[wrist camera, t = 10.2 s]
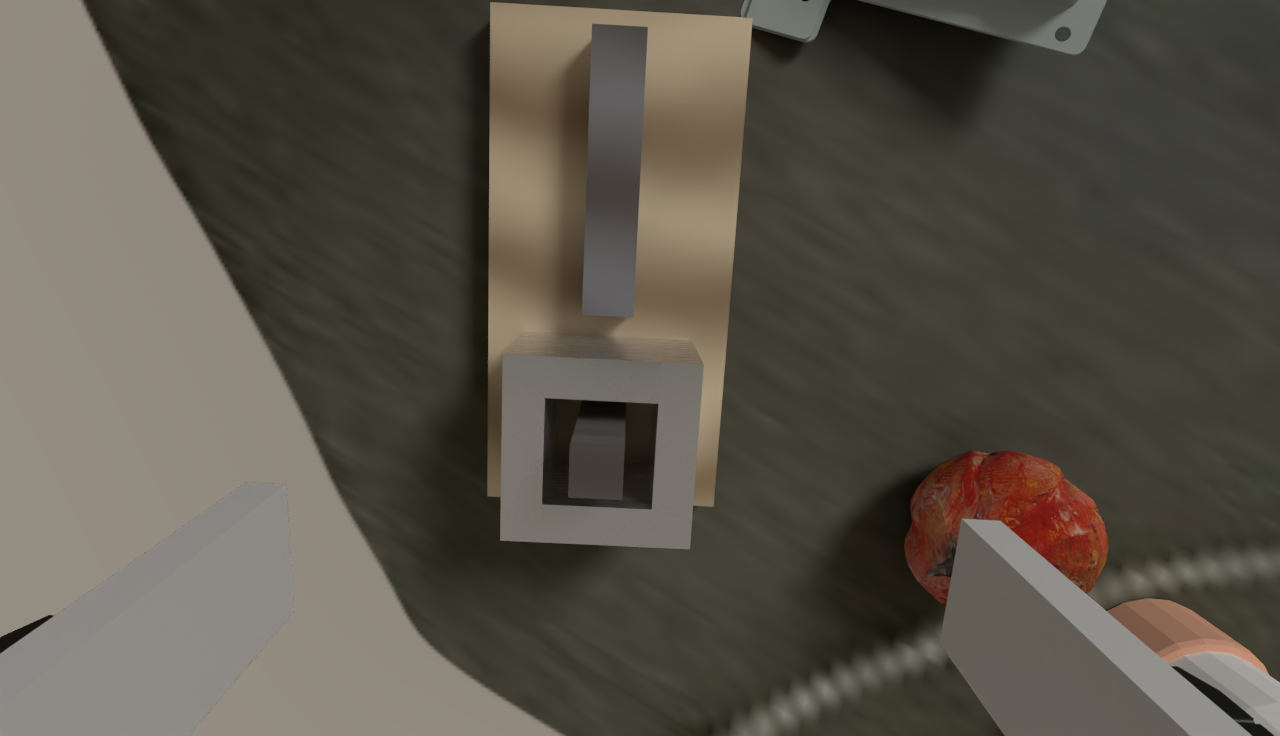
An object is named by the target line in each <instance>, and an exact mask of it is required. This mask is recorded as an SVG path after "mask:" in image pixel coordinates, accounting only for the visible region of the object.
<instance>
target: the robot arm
mask: <svg viewBox="0 0 1280 736" xmlns="http://www.w3.org/2000/svg"><path fill="white" fill-rule="evenodd" d="M294 612H295V611H294V596H293V580H292V565H291V549H290V533H289V518H288V502H287V487H286V484H273V483H253V482H252V483H251V482H246V483H244V484H243V485H241V486H240V487H239V488H237V489H236V490H234V491H233V492H231V493H230V494H228V495H227V496H226V497H224V498H223V499H222V500H220V501H218V502H217V503H216V504H214V505H213V506H212V507H210V508H208V509H207V510H206V511H204V512H203V513H201V514H200V515H198V516H197V517H195V518H194V519H193V520H191V521H190V522H188V523H187V524H186V525H184V526H183V527H182V528H180V529H178V530H177V531H175V532H174V533H173V534H171V535H170V536H168V537H167V538H165V539H164V540H162V541H161V542H160V543H158V544H157V545H155V546H154V547H153V548H151V549H150V550H148V551H147V552H145V553H144V554H142V555H141V556H140V557H138V558H137V559H135V560H134V561H132V562H131V563H130V564H128V565H127V566H125V567H124V568H122V569H121V570H120V571H118V572H117V573H115V574H114V575H112V576H111V577H109V578H108V579H107V580H105V581H104V582H102V583H101V584H99V585H98V586H96V587H95V588H94V589H92V590H91V591H89V592H88V593H86V594H85V595H84V596H82V597H81V598H79V599H78V600H76V601H75V602H74V603H72V604H71V605H69V606H68V607H66V608H65V609H63V610H62V611H61V612H59V613H58V614H56V615H55V616H52V615H48V616H46V617H44V618H42V619H40V620H37V621H36V622H33V623H31V624H29V625H26V626H24V627H22V628H20V629H17V630H15V631H13V632H11V633H8V634H6V635H4V636H2V637H1V638H0V736H189V735H190V734H191V733H192V732H193V731H194V730H195V728H196V727H197V726H198V725H199V724H200V723H201V721H202V720H203V719H204V718H205V716H206V715H207V714H208V713H209V712H210V711H211V709H212V708H213V707H214V706H215V705H216V704H217V702H218V701H219V700H220V699H221V698H222V697H223V695H224V694H225V693H226V692H227V691H228V690H229V688H230V687H231V686H232V684H233V683H235V681H236V680H237V679H238V678H239V677H240V676H241V674H242V673H243V672H244V671H245V670H246V668H247V667H248V666H249V665H250V664H251V662H252V661H253V660H254V659H255V658H256V657H257V656H258V654H259V653H260V652H261V651H262V650H263V648H264V647H265V646H266V645H267V644H268V643H269V641H270V640H271V639H272V638H273V637H274V635H275V634H276V633H277V632H278V631H279V630H280V629H281V627H282V626H283V625H284V624H285V623H286V621H287V620H288V619H289V618H290V617H291V616H292V614H293V613H294ZM940 644H941V646H942V647H943V648H944V650H945V651H946V653H947V654H948V656H949V657H950V658H951V660H952V661H953V663H954V664H955V665H956V667H957V668H958V670H959V671H960V673H961V674H962V675H963V677H964V678H965V680H966V681H967V683H968V684H969V685H970V687H971V688H972V690H973V691H974V693H975V694H976V695H977V697H978V698H979V700H980V701H981V703H982V704H983V705H984V707H985V708H986V710H987V711H988V713H989V714H990V715H991V717H992V718H993V720H994V721H995V723H996V724H997V725H998V727H999V728H1000V730H1001V731H1002V733H1003V734H1004V735H1005V736H1274V735H1273V734H1272V733H1271V732H1269V731H1268V730H1267V729H1266V728H1265V727H1263V726H1262V725H1261V724H1255V723H1254V718H1252V717H1251V716H1250V715H1249V714H1248V713H1246V712H1245V711H1244V710H1243V709H1242V708H1240V707H1239V706H1238V705H1237V704H1235V703H1234V702H1233V701H1232V700H1231V699H1229V698H1228V697H1227V696H1226V695H1225V694H1223V693H1222V692H1221V691H1220V690H1218V689H1216V688H1214V687H1213V686H1211V685H1209V684H1207V683H1206V682H1204V681H1202V680H1200V679H1199V678H1197V677H1195V676H1194V675H1192V674H1190V673H1188V672H1187V671H1185V670H1183V669H1181V668H1180V667H1178V666H1170V665H1169V664H1168V663H1166V662H1165V661H1164V660H1163V659H1162V658H1161V657H1159V656H1158V655H1157V654H1156V653H1155V652H1154V651H1152V650H1151V649H1150V648H1149V647H1148V646H1147V645H1145V644H1144V643H1143V642H1142V641H1141V640H1139V639H1138V638H1137V637H1136V636H1135V635H1134V634H1132V633H1131V632H1130V631H1129V630H1128V629H1127V628H1125V627H1124V626H1123V625H1122V624H1121V623H1120V622H1118V621H1117V620H1116V619H1115V618H1114V617H1113V616H1111V615H1110V614H1109V613H1108V612H1107V611H1106V610H1104V609H1103V608H1102V607H1101V606H1100V605H1098V604H1097V603H1096V602H1095V601H1094V600H1093V599H1091V598H1090V597H1089V596H1088V595H1087V594H1086V593H1084V592H1083V591H1082V590H1081V589H1080V588H1079V587H1077V586H1076V585H1075V584H1074V583H1073V582H1072V581H1070V580H1069V579H1068V578H1067V577H1066V576H1065V575H1063V574H1062V573H1061V572H1060V571H1059V570H1057V569H1056V568H1055V567H1054V566H1053V565H1052V564H1050V563H1049V562H1048V561H1047V560H1046V559H1045V558H1043V557H1042V556H1041V555H1040V554H1039V553H1038V552H1036V551H1035V550H1034V549H1033V548H1032V547H1031V546H1029V545H1028V544H1027V543H1026V542H1025V541H1024V540H1022V539H1021V538H1020V537H1019V536H1018V535H1016V534H1015V533H1014V532H1013V531H1012V530H1011V529H1009V528H1008V527H1007V526H1006V525H1005V524H1004V523H1002V522H1001V521H997V520H977V519H961V525H960V531H959V536H958V542H957V548H956V553H955V559H954V565H953V570H952V576H951V582H950V587H949V593H948V598H947V604H946V610H945V615H944V621H943V627H942V632H941V638H940Z"/></svg>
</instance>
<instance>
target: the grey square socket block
mask: <svg viewBox="0 0 1280 736" xmlns="http://www.w3.org/2000/svg"><path fill="white" fill-rule="evenodd" d="M703 371H704V364H703V362H702V360H701V358H700V356H699V354H698V352H697V350H696V348H695V346H694V344H693V342H692V340H680V339H661V338H642V337H623V336H604V335H585V334H566V333H547V332H528V331H525V332H524V333H523V334H522V335H521V336H520V337H519V338H518V339H517V340H516V341H515V342H514V343H513V344H512V345H511V346H510V347H509V348H508V349H507V350H506V351H505V352H504V353H503V365H502V440H501V514H500V541H520V542H542V543H564V544H585V545H607V546H629V547H651V548H673V549H690V540H691V527H692V514H693V501H694V488H695V475H696V462H697V449H698V436H699V423H700V410H701V397H702V384H703ZM559 399H573V400H593V401H612V402H632V403H652V413H651V430H650V446H649V462H632V461H624V474H623V494H622V500H609V499H587V498H568V482H569V458H557V437H558V406H559Z"/></svg>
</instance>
